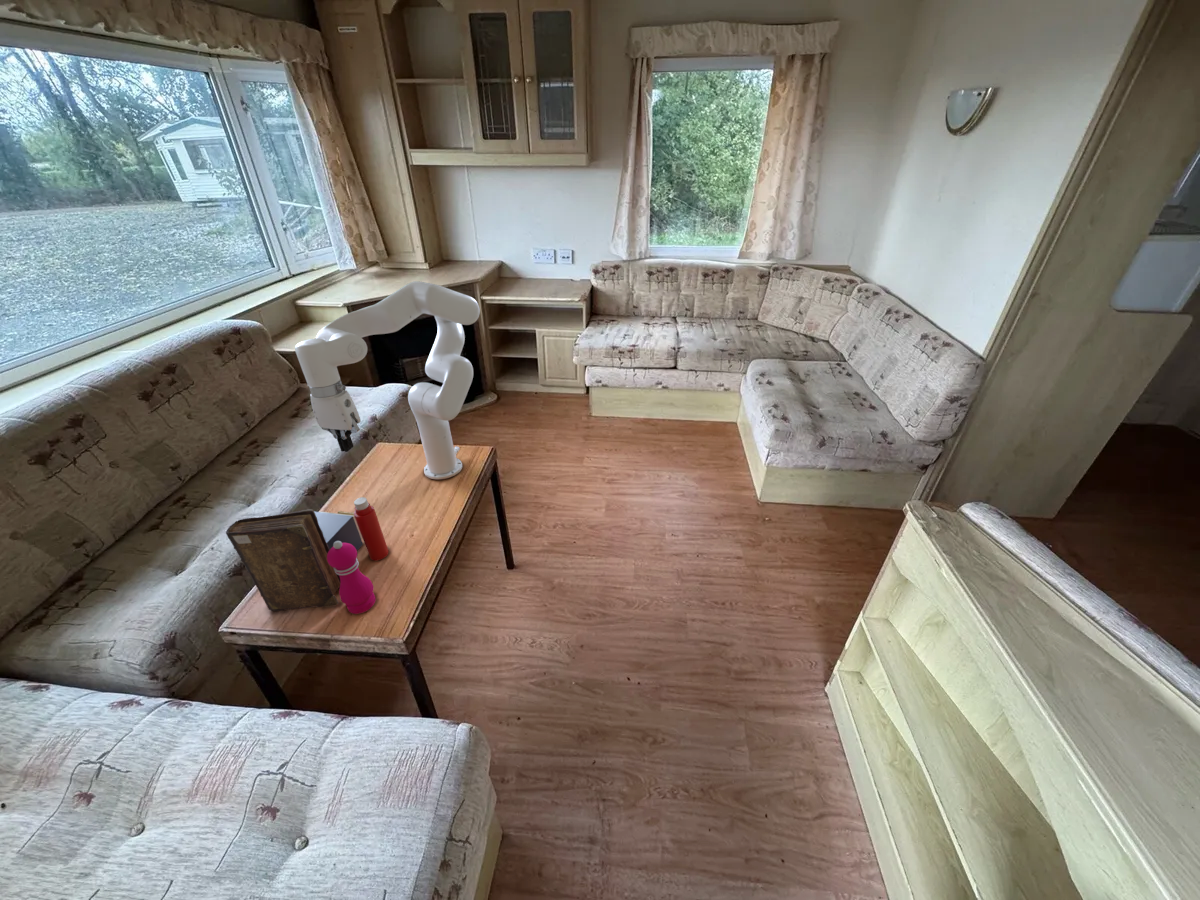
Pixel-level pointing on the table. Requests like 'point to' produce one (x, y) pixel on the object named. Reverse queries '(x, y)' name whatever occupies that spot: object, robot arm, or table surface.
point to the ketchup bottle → (370, 529)
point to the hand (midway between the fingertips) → (347, 449)
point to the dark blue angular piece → (339, 529)
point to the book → (287, 559)
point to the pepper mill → (351, 578)
